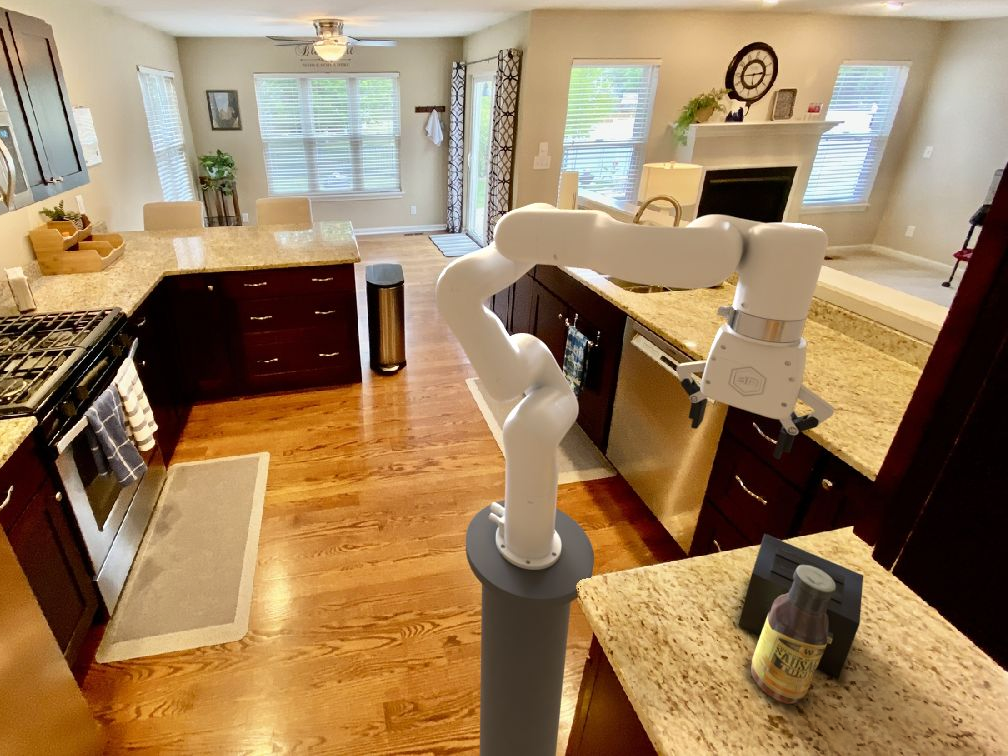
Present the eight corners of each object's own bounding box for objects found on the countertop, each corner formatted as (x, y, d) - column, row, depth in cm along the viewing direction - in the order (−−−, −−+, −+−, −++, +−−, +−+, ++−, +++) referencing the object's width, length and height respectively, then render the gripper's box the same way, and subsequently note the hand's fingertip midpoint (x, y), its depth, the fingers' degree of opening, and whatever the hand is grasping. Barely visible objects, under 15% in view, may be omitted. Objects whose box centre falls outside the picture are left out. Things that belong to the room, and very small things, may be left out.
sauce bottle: (760, 701, 66) (793, 593, 59) (742, 655, 71) (770, 552, 65) (816, 713, 64) (857, 604, 57) (793, 665, 70) (828, 561, 63)
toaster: (736, 631, 75) (750, 577, 71) (751, 583, 82) (764, 532, 79) (837, 687, 67) (859, 629, 63) (843, 628, 75) (863, 574, 71)
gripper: (680, 315, 64) (659, 425, 70) (854, 354, 52) (811, 481, 58) (697, 300, 69) (676, 404, 75) (859, 333, 57) (819, 452, 63)
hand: (735, 438), depth 66 cm, fingers open, 9 cm apart
